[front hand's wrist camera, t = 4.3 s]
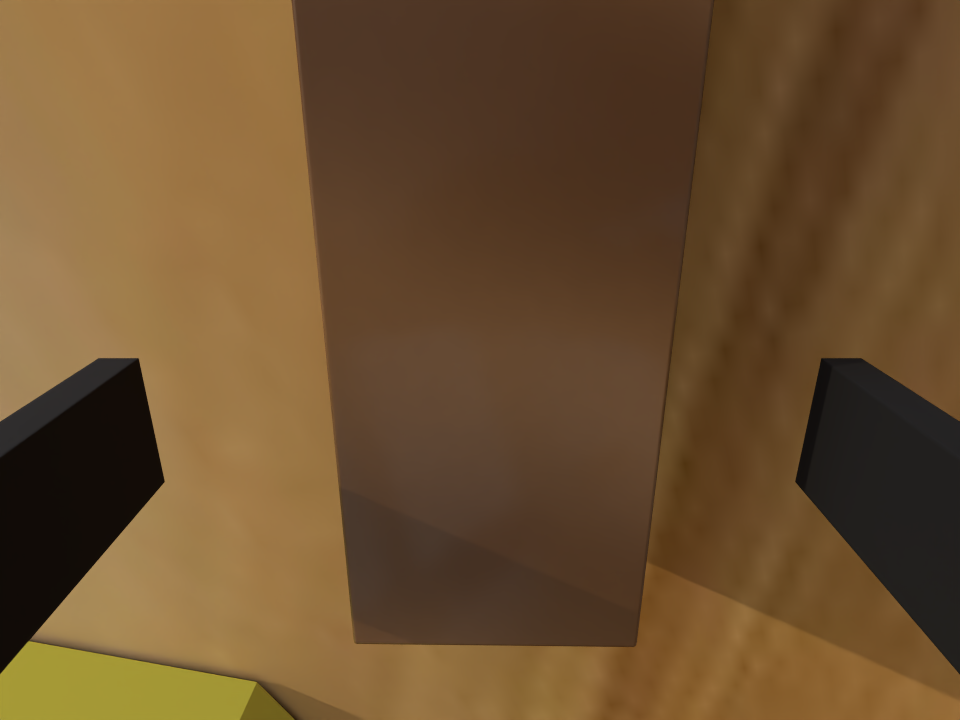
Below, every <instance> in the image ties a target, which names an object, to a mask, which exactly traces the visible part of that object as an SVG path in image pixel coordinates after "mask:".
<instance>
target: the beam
mask: <svg viewBox="0 0 960 720" xmlns="http://www.w3.org/2000/svg"><path fill="white" fill-rule="evenodd" d="M713 5H714V0H292V9H293V19H294V29H295V40H296V50H297V60H298V70H299V81H300V91H301V101H302V112H303V122H304V132H305V143H306V153H307V163H308V173H309V184H310V194H311V204H312V215H313V225H314V235H315V246H316V256H317V266H318V276H319V287H320V297H321V307H322V318H323V328H324V338H325V349H326V359H327V369H328V379H329V390H330V400H331V410H332V421H333V431H334V441H335V452H336V462H337V472H338V483H339V493H340V503H341V513H342V524H343V534H344V544H345V555H346V565H347V575H348V586H349V596H350V606H351V616H352V627H353V637H354V642H355V643H356V644H422V645H511V646H600V647H634V646H636V643H637V636H638V627H639V619H640V611H641V602H642V594H643V586H644V578H645V569H646V561H647V553H648V544H649V536H650V528H651V519H652V511H653V503H654V495H655V486H656V478H657V470H658V461H659V453H660V445H661V437H662V428H663V420H664V412H665V403H666V395H667V387H668V379H669V370H670V362H671V354H672V345H673V337H674V329H675V321H676V312H677V304H678V296H679V287H680V279H681V271H682V262H683V254H684V246H685V238H686V229H687V221H688V213H689V204H690V196H691V188H692V180H693V171H694V163H695V155H696V146H697V138H698V130H699V122H700V113H701V105H702V97H703V88H704V80H705V72H706V64H707V55H708V47H709V39H710V30H711V22H712V14H713Z"/></svg>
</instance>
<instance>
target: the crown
mask: <svg viewBox="0 0 960 720" xmlns="http://www.w3.org/2000/svg"><path fill="white" fill-rule="evenodd" d="M0 720H295V719H294V718H293V717H292V716H291V715H290V714H289V713H288V712H287V711H286V710H285V709H284V708H283V707H282V706H281V705H279V704H278V703H277V702H276V701H275V700H274V699H273V698H272V697H271V696H270V695H269V694H268V693H267V692H266V691H265V690H264V689H263V688H262V687H261V686H260V685H259V684H258V683H257V682H254V681H248V680H242V679H237V678H231V677H226V676H220V675H215V674H209V673H203V672H198V671H192V670H187V669H181V668H175V667H170V666H164V665H159V664H153V663H148V662H142V661H136V660H131V659H125V658H120V657H114V656H109V655H103V654H97V653H92V652H86V651H81V650H75V649H69V648H64V647H58V646H53V645H47V644H42V643H36V642H30V641H28V642H27V643H26V645H25V646H24V647H23V648H22V649H21V651H20V652H19V653H18V654H17V655H16V656H15V658H14V659H13V660H12V661H11V662H10V663H9V665H8V666H7V667H6V668H5V669H4V670H3V672H2V673H1V674H0Z"/></svg>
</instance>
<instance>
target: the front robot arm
mask: <svg viewBox="0 0 960 720" xmlns="http://www.w3.org/2000/svg"><path fill="white" fill-rule="evenodd" d="M164 482H165V481H164V476H163V471H162V467H161V462H160V457H159V453H158V448H157V443H156V438H155V434H154V429H153V424H152V419H151V415H150V410H149V405H148V401H147V396H146V391H145V386H144V382H143V377H142V372H141V368H140V363H139V358H99V359H97V360H95V361H94V362H92V363H91V364H89V365H88V366H86V367H85V368H83V369H81V370H80V371H78V372H77V373H75V374H74V375H72V376H71V377H69V378H67V379H66V380H64V381H63V382H61V383H60V384H58V385H57V386H55V387H53V388H52V389H50V390H49V391H47V392H46V393H44V394H43V395H41V396H39V397H38V398H36V399H35V400H33V401H32V402H30V403H29V404H27V405H25V406H24V407H22V408H21V409H19V410H18V411H16V412H15V413H13V414H11V415H10V416H8V417H7V418H5V419H4V420H2V421H1V422H0V674H1V673H2V672H3V670H4V669H5V668H6V667H7V666H8V665H9V663H10V662H11V661H12V660H13V659H14V658H15V656H16V655H17V654H18V653H19V652H20V651H21V649H22V648H23V647H24V646H25V645H26V643H27V642H28V641H29V640H30V639H31V638H32V636H33V635H34V634H35V633H36V632H37V631H38V629H39V628H40V627H41V626H42V625H43V624H44V622H45V621H46V620H47V619H48V618H49V617H50V615H51V614H52V613H53V612H54V611H55V610H56V608H57V607H58V606H59V605H60V604H61V603H62V601H63V600H64V599H65V598H66V597H67V596H68V594H69V593H70V592H71V591H72V590H73V589H74V587H75V586H76V585H77V584H78V583H79V582H80V580H81V579H82V578H83V577H84V576H85V574H86V573H87V572H88V571H89V570H90V569H91V567H92V566H93V565H94V564H95V563H96V562H97V560H98V559H99V558H100V557H101V556H102V555H103V553H104V552H105V551H106V550H107V549H108V548H109V546H110V545H111V544H112V543H113V542H114V541H115V539H116V538H117V537H118V536H119V535H120V534H121V532H122V531H123V530H124V529H125V528H126V527H127V525H128V524H129V523H130V522H131V521H132V520H133V518H134V517H135V516H136V515H137V514H138V512H139V511H140V510H141V509H142V508H143V507H144V505H145V504H146V503H147V502H148V501H149V500H150V498H151V497H152V496H153V495H154V494H155V493H156V491H157V490H158V489H159V488H160V487H161V486H162V484H163V483H164ZM795 482H796V483H797V484H798V486H799V487H800V488H801V489H802V490H803V491H804V493H805V494H806V495H807V496H808V497H809V498H810V500H811V501H812V502H813V503H814V504H815V505H816V507H817V508H818V509H819V510H820V511H821V512H822V514H823V515H824V516H825V517H826V518H827V520H828V521H829V522H830V523H831V524H832V525H833V527H834V528H835V529H836V530H837V531H838V532H839V534H840V535H841V536H842V537H843V538H844V539H845V541H846V542H847V543H848V544H849V545H850V546H851V548H852V549H853V550H854V551H855V552H856V553H857V555H858V556H859V557H860V558H861V559H862V560H863V562H864V563H865V564H866V565H867V566H868V567H869V569H870V570H871V571H872V572H873V573H874V574H875V576H876V577H877V578H878V579H879V580H880V582H881V583H882V584H883V585H884V586H885V587H886V589H887V590H888V591H889V592H890V593H891V594H892V596H893V597H894V598H895V599H896V600H897V601H898V603H899V604H900V605H901V606H902V607H903V608H904V610H905V611H906V612H907V613H908V614H909V615H910V617H911V618H912V619H913V620H914V621H915V622H916V624H917V625H918V626H919V627H920V628H921V629H922V631H923V632H924V633H925V634H926V635H927V636H928V638H929V639H930V640H931V641H932V642H933V644H934V645H935V646H936V647H937V648H938V649H939V651H940V652H941V653H942V654H943V655H944V656H945V658H946V659H947V660H948V661H949V662H950V663H951V665H952V666H953V667H954V668H955V669H956V670H957V672H958V673H959V674H960V422H959V421H958V420H956V419H955V418H953V417H952V416H950V415H949V414H947V413H945V412H944V411H942V410H941V409H939V408H938V407H936V406H935V405H933V404H931V403H930V402H928V401H927V400H925V399H924V398H922V397H921V396H919V395H917V394H916V393H914V392H913V391H911V390H910V389H908V388H907V387H905V386H903V385H902V384H900V383H899V382H897V381H896V380H894V379H893V378H891V377H889V376H888V375H886V374H885V373H883V372H882V371H880V370H879V369H877V368H875V367H874V366H872V365H871V364H869V363H868V362H866V361H865V360H863V359H861V358H821V363H820V368H819V372H818V377H817V382H816V386H815V391H814V396H813V401H812V405H811V410H810V415H809V419H808V424H807V429H806V434H805V438H804V443H803V448H802V453H801V457H800V462H799V467H798V471H797V476H796V481H795Z"/></svg>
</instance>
